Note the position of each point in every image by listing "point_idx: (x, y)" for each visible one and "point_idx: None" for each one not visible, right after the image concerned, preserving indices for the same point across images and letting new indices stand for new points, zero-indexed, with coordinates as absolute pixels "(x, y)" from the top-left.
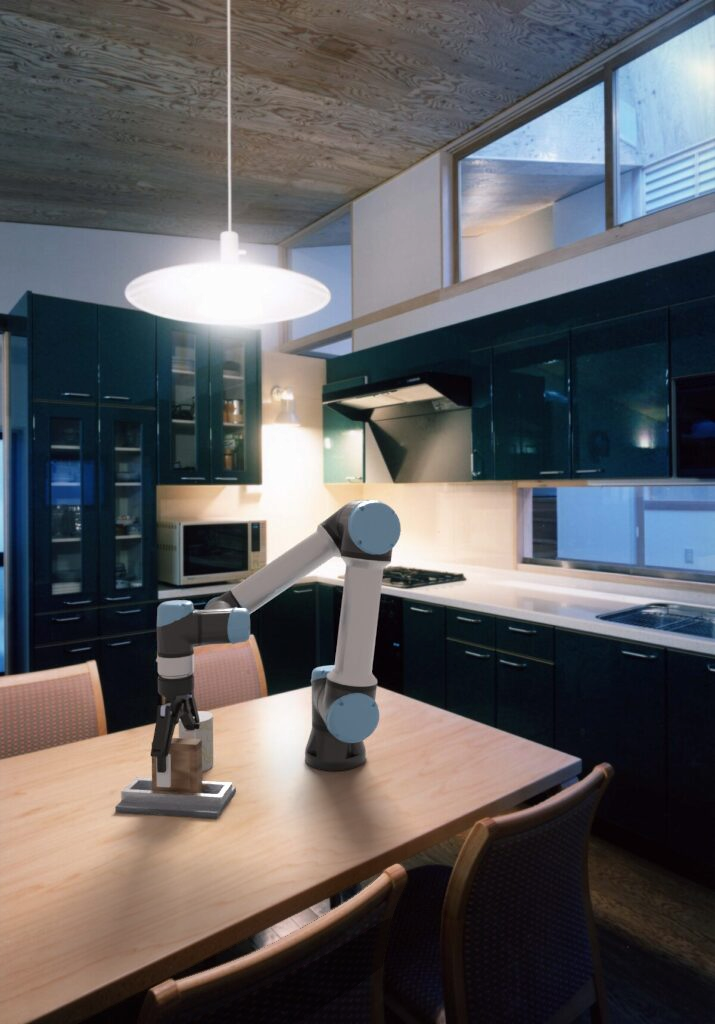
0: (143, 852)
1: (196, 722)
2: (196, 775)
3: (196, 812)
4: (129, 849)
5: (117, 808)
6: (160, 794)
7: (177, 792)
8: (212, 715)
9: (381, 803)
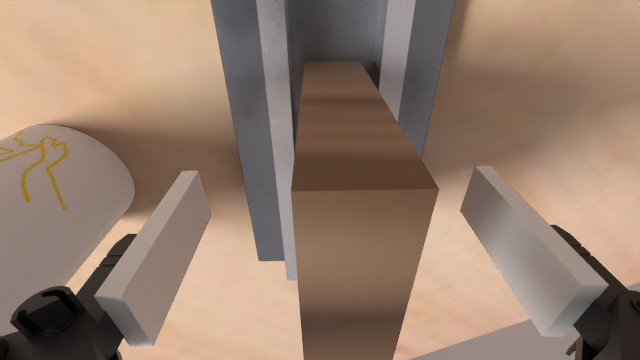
0: (631, 106)
1: (1, 348)
2: (378, 92)
3: (447, 26)
4: (597, 148)
5: None
6: None
7: None
8: None
9: None
